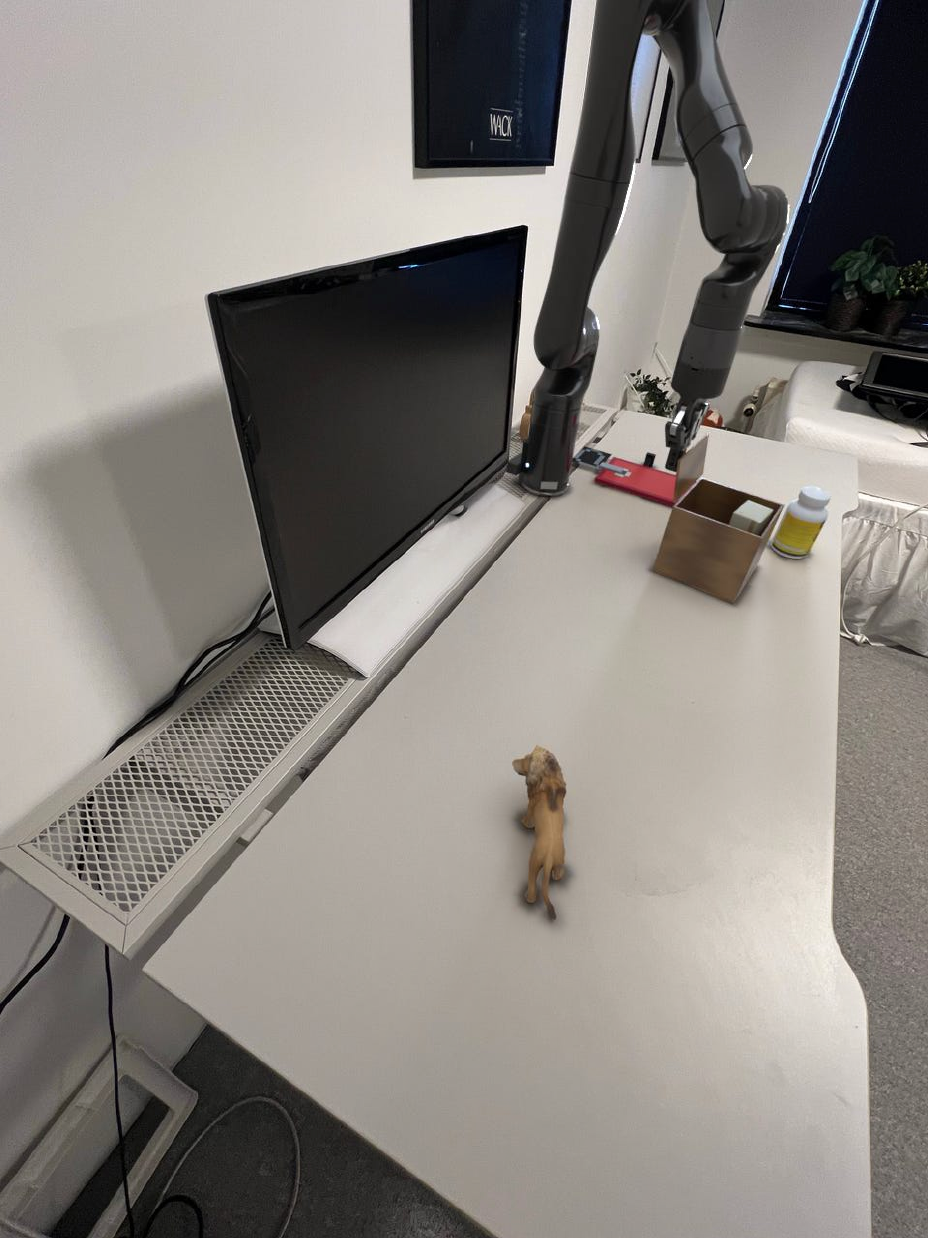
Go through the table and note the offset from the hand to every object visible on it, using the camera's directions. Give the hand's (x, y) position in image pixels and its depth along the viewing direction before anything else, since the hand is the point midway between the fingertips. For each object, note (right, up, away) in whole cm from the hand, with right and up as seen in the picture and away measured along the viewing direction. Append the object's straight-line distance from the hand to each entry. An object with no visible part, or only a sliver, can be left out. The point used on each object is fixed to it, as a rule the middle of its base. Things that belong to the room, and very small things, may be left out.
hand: (672, 469), depth 96 cm
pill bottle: (+25, -12, +12) cm, 30 cm away
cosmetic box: (+11, -17, +4) cm, 20 cm away
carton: (+8, -16, +6) cm, 18 cm away
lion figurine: (-26, -48, -34) cm, 64 cm away
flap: (+2, 0, -2) cm, 3 cm away
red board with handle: (+3, +5, +29) cm, 30 cm away
